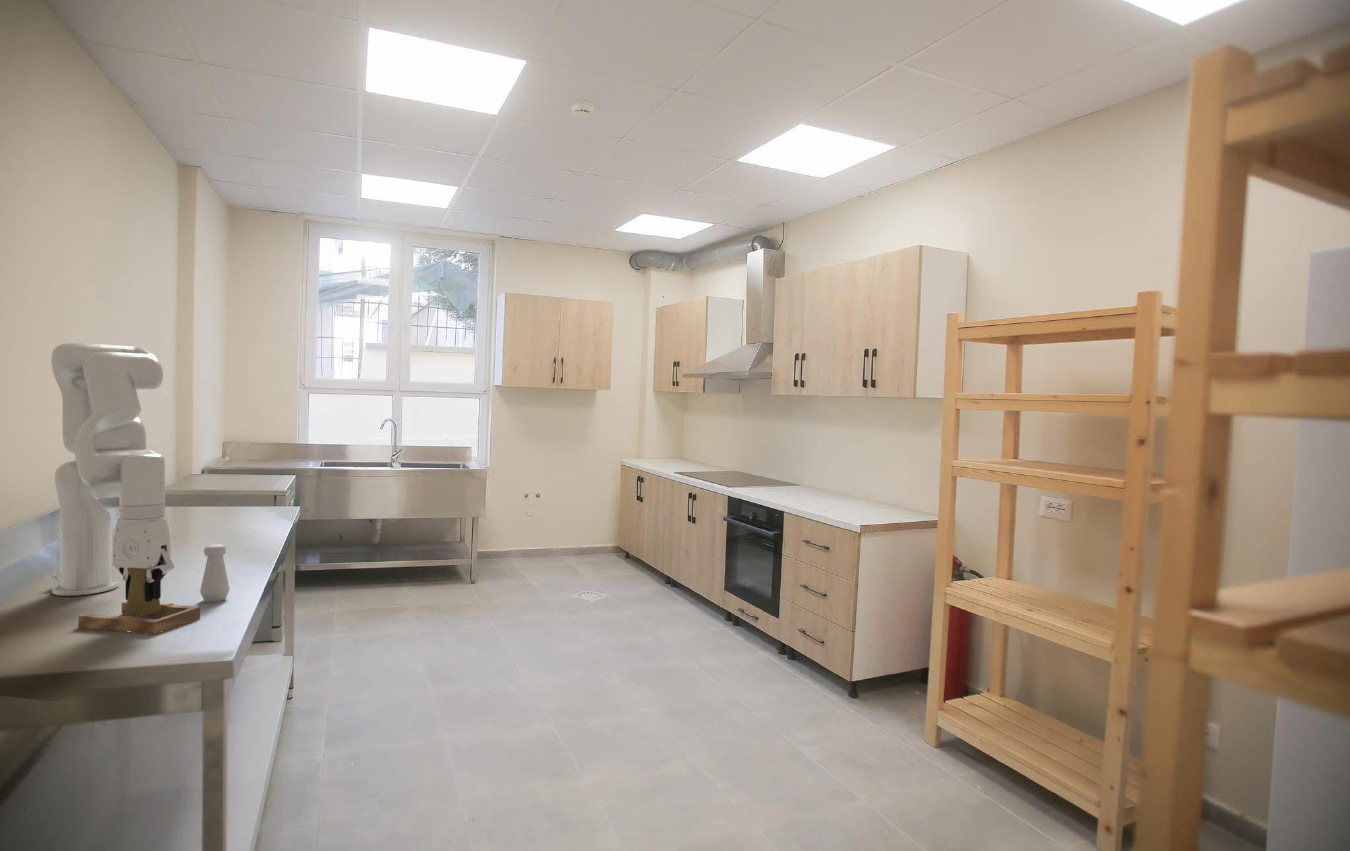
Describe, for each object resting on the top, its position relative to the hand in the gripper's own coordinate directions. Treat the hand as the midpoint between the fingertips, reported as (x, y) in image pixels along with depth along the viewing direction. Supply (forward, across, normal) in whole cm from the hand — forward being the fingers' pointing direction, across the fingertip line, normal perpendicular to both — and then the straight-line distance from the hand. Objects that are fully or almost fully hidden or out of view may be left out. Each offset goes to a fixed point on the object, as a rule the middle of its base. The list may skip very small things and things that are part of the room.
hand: (143, 598), depth 149 cm
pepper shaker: (+3, 0, 0) cm, 3 cm away
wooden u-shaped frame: (+5, -1, 0) cm, 5 cm away
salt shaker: (+5, 0, +18) cm, 19 cm away
